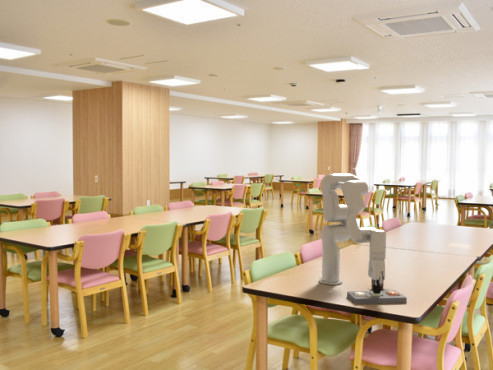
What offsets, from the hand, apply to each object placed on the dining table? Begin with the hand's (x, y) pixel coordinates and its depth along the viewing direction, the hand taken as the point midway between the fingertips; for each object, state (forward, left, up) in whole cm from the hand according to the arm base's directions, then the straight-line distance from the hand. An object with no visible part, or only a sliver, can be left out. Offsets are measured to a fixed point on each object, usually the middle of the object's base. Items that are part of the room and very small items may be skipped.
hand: (376, 293), depth 221 cm
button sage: (0, 0, -2) cm, 2 cm away
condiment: (-17, +8, -4) cm, 20 cm away
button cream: (0, -8, -2) cm, 9 cm away
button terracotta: (0, +8, -2) cm, 9 cm away
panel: (0, 0, -3) cm, 3 cm away
